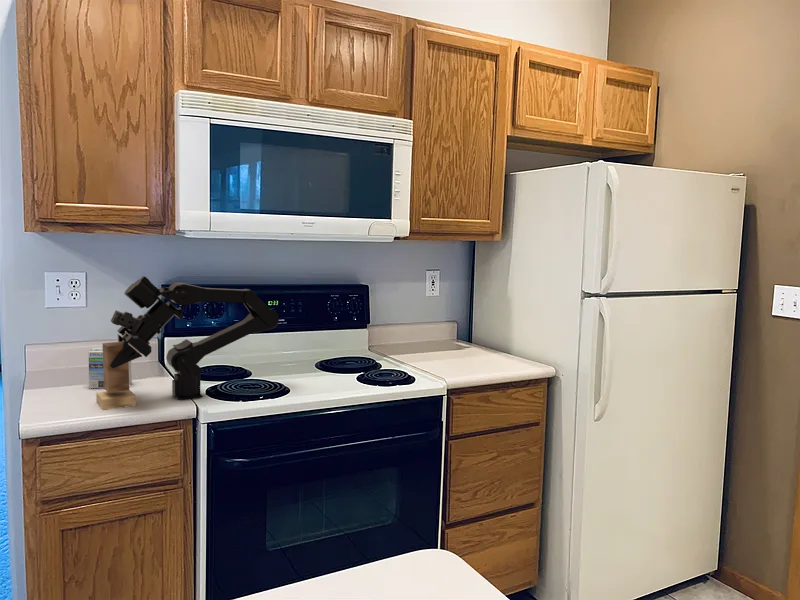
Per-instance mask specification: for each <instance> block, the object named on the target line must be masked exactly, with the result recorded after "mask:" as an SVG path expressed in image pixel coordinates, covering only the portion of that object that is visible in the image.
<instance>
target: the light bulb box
mask: <svg viewBox="0 0 800 600" xmlns="http://www.w3.org/2000/svg"><path fill="white" fill-rule="evenodd" d="M132 373H133V372H132V360H131V361H129V385H130V386H131V384H132V383H131V382H133V381H132V377H133V376H132ZM91 388H92V389H91ZM93 388H94V390H95V388H99V389H104V372H103V347H93V348H91V349H90V350H89V351H88V389H89V390H93Z"/></svg>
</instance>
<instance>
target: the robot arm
mask: <svg viewBox="0 0 800 600" xmlns="http://www.w3.org/2000/svg"><path fill="white" fill-rule="evenodd" d="M123 294H124V295H125V296H126V297H127V298H128V299H129V300H130V301H132V302H133V303H134V304H135V305H136V306H137V307H139V308H140V309H143V308H146V309H148V310H147V311H146V312H145V313H144V314H140V315H138V316H137V317H135V316H133V313H132V312H128V311H124V312H122V311H120V310H115V311H114V313H113V315H112V317H111V319H110V322H111V323H112V324H113V325H116V326H120V327H119V328H118V329H117V332H118V334H117V342H123V347H122V349H121V351H120V352H119V353H118V355H117V356H116V358H115V359H114V360H113V362H112V363H111V365H110V366H111V367H112V368H115V367H118V366H120V365H122V364H124V363H127V362H129V361H131V362H132V361H134V360H135V359H139V358H142V357H143V356H144V357H145V358H147V357H148V356H149V355H150V354H151V353H152V346H151V344H150V343H151V342H150V341H151V340H152V339H153V338H154V337H155V336H156V335H160V333H162V329H163V328H164V327H165V325H167V323H168V322H170V320H172V318H174V316H175V317H176V318H178V319H179V320H183V311H184V310H183V309H182V308H180V307H178V308H177V307H176V306H175V305H174V304H173V303H175V304H176V305H179V306H189V305H197V304H200V303H205V302H206V303H208V302H209V303H230V304H231V303H234V304H243V305H244V306H245V308H246V309H247V310H248V312H249V313H248V314H247V315H246V317H245V318H244V319H243V320H241V321H239V322H237V323H235V324H233V325H230V326H228V327H226V328H225V329H222V330H220V331H217V332H215V333H214V334H211V335H209V336H207V337H205V338H203V339H201V340H199V341H195V342H192V341H190V340H189V339H187V338H186V339H184V340H183V341H181V342H180V343H177V344H172V347H171V348H170V349H169V350H168V352H167V353H166V358H165V359H166V362H167V364H168V365H169V366H170V367H172V368H173V370H174V372H175V373H174V374H173V379H172V381H171V382H172V385H171V386H172V387H171V390H172V393H171V394H172V396H174V398H176V399H178V400H179V401H180V400H188V399H196V398H197V399H198V398H203V394H202V392H201V373H202V371H203V369H202V368H201V367H200V366H199V365H198V363H200V362H201V360H202V359H203V358H204V357H206V356H207V355H210V354H211V353H213V352H217V351H218V350H220V349H222V348H223V347H226V346H228V345H230V344H232V343H234V342H236V341H239V340H240V339H242V338H243V339H244V337H246V336H249V335H250V334H257V333H262V332H265V331H269V330H273V329H275V328H276V327H277V326H278V325H279V321H280V317H279V314H278V312H277V311H276V310H274V309H271V308H270V307H269V306H268V305H267V304H266V303H265V302H264V300H262V299H261V298H259V296H258V295H257V294H256V292H255V291H253V290H252V289H249V288H243V289H242V288H241V289H236V288H220V287H219V288H216V287H213V288H212V287H202V286H198V285H193V284H189V283H185V282H181V281H179V282H177V281H175V282H172V283H171V284H170V285H169V286H168V287H163V288H162V287H161V288H157V287H156V285H155V284H153V283H152V282H151V280H150V279H149V278H148V277H146V276H145V275H143V276H141V277H140V278H139V279H137V280H136V281H135V282H134V283H131V284H130V286H129V287H127V289H126V290H125V291H124V293H123ZM160 297H161V298H160ZM162 298H163V299H166V300H169V301H167V302H165V301H164V300H162Z"/></svg>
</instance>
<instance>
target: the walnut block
mask: <svg viewBox="0 0 800 600" xmlns="http://www.w3.org/2000/svg"><path fill="white" fill-rule="evenodd" d="M122 347H123V342H118V341H114V342H103V343H102V348H103V372H104V388H103V389H104V390H105V392H106V391H107V392H108V393H111V392H119V391H126V390H130V386H129V362H127V363H124V364H122V365H120V366H118V367H115V368H112V367H111V366H110V365H111V363H112V362H113V360H114V359H115V358H116V356H117V355H118V353H119V352H120V351H121V349H122Z"/></svg>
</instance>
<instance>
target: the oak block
mask: <svg viewBox="0 0 800 600" xmlns="http://www.w3.org/2000/svg"><path fill="white" fill-rule="evenodd" d="M95 394H96V396H95V397H96V403H97V405H98V404H99V405H98V406H99V407H100V408H101V410H102V411H104V410H111V409H112V408H114V409H119V408H118V407H121V408H126V407H125V406H129V407H134V406H133V405H136V406H137V395H136V394H135V393H134V392H133V391H132V390H130V389H129V390H126V391H119V392H111V393H108V392H107V391H106V390H105V391H99V392H98V391H97V392H96V393H95Z"/></svg>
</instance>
